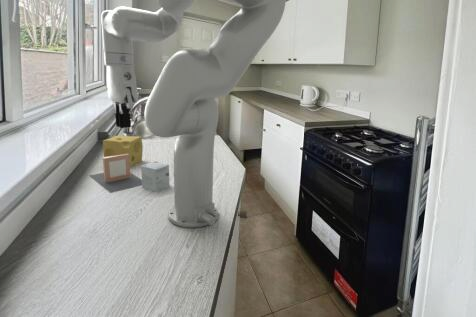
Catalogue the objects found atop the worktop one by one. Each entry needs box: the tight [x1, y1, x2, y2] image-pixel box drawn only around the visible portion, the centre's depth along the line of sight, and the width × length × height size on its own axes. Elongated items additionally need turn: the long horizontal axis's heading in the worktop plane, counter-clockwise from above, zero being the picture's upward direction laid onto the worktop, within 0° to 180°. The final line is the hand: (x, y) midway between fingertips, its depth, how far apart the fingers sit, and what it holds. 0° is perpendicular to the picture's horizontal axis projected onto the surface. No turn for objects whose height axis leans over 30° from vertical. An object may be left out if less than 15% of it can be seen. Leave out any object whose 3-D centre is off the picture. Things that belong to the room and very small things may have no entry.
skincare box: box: [140, 161, 170, 192], centre depth 94 cm, size 6×6×7 cm
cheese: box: [102, 134, 144, 168], centre depth 115 cm, size 10×11×10 cm
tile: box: [102, 154, 131, 183], centre depth 98 cm, size 1×8×8 cm, turn 134°
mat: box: [88, 172, 142, 194], centre depth 99 cm, size 18×12×1 cm, turn 44°
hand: (123, 126), depth 89 cm, fingers closed
